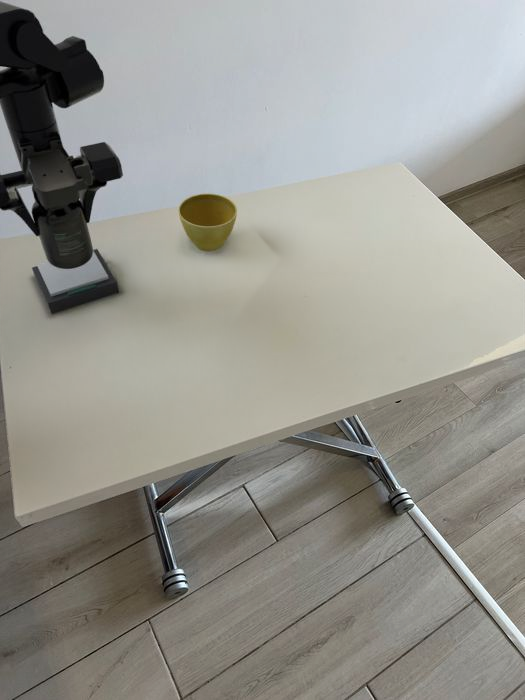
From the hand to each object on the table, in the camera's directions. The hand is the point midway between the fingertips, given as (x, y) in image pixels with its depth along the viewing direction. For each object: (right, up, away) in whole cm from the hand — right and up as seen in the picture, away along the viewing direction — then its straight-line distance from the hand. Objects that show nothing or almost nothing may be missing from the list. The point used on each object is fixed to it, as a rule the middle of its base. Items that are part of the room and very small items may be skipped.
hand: (62, 228), depth 76 cm
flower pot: (+19, +2, +21) cm, 28 cm away
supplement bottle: (0, -3, +4) cm, 5 cm away
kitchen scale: (-2, -7, +11) cm, 13 cm away
